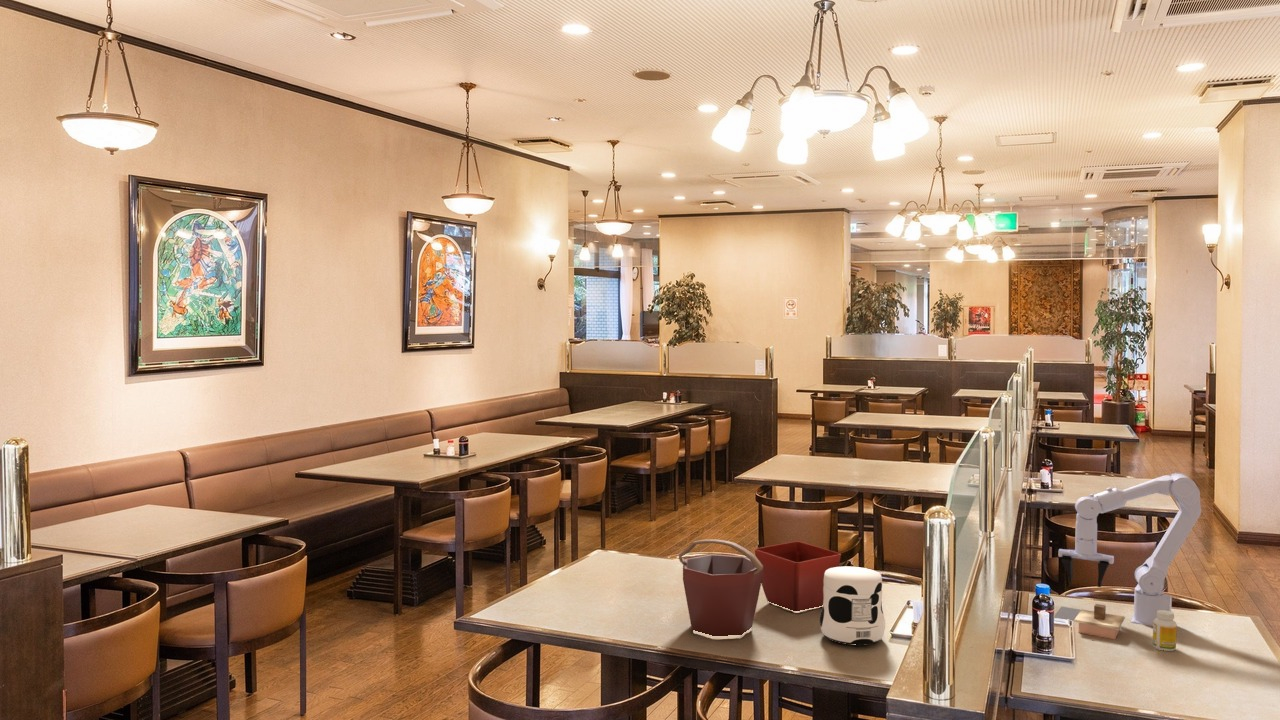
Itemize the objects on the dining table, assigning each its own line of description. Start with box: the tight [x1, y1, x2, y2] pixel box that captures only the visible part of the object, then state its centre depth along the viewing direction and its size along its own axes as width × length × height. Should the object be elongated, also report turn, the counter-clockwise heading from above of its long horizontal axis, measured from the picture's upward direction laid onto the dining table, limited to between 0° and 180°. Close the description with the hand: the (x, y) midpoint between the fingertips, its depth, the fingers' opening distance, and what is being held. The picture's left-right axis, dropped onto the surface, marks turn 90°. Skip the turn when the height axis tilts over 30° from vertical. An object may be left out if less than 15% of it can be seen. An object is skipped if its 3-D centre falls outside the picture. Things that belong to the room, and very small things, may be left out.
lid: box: [1074, 603, 1126, 629], centre depth 251 cm, size 11×11×4 cm
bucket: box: [677, 538, 763, 636], centre depth 253 cm, size 24×22×25 cm
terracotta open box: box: [1078, 622, 1121, 640], centre depth 251 cm, size 9×9×4 cm
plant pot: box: [754, 540, 842, 611], centre depth 274 cm, size 19×19×17 cm
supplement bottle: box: [1152, 610, 1178, 652], centre depth 239 cm, size 5×5×10 cm
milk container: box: [819, 565, 886, 646], centre depth 245 cm, size 17×17×18 cm
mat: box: [1054, 605, 1081, 621], centre depth 264 cm, size 14×12×1 cm
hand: (1085, 584), depth 265 cm, fingers open, 7 cm apart
